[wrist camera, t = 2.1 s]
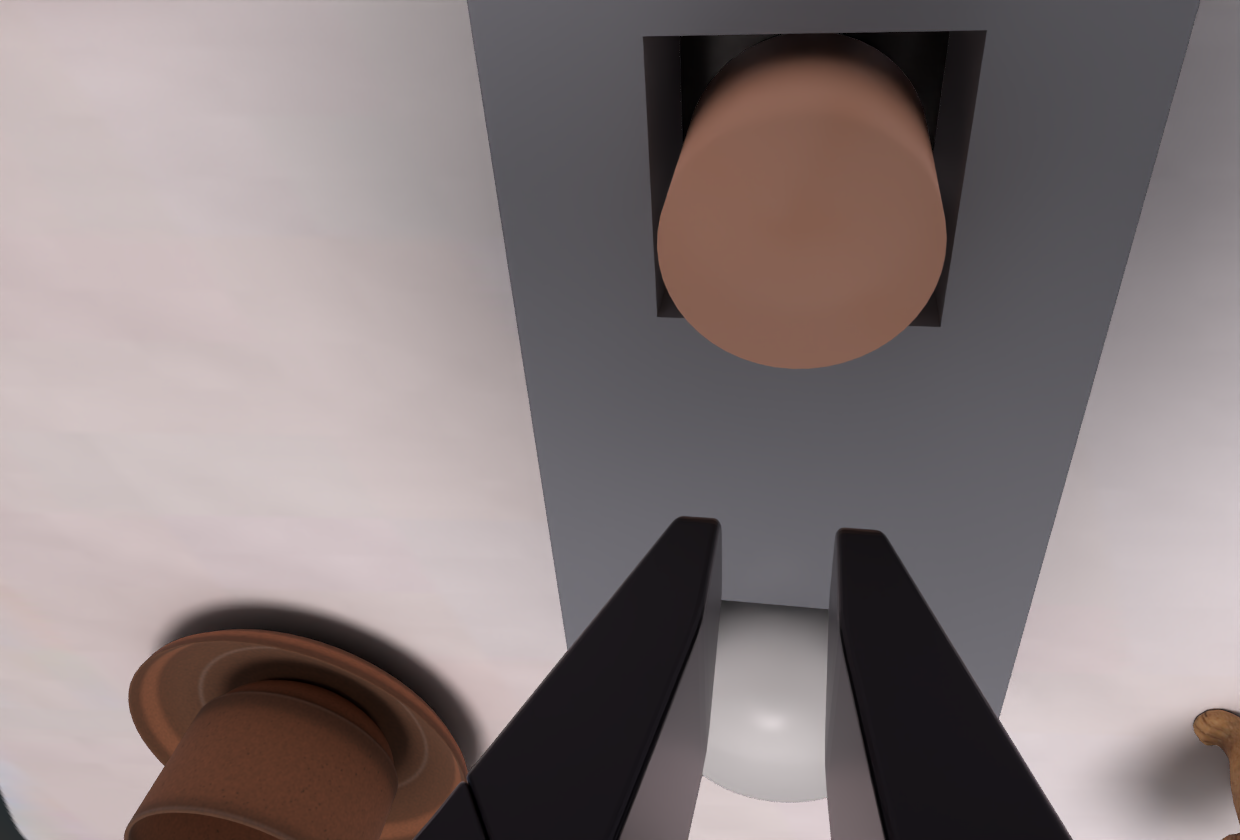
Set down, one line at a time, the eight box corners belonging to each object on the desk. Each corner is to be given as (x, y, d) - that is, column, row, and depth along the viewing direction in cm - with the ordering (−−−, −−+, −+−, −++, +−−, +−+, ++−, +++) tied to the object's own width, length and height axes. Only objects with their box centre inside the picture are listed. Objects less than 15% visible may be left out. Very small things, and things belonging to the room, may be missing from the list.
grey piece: (872, 574, 22) (877, 703, 19) (858, 684, 24) (860, 812, 22) (697, 561, 23) (678, 682, 20) (700, 669, 25) (683, 790, 22)
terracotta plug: (944, 28, 15) (968, 111, 12) (913, 261, 17) (927, 374, 14) (683, 33, 16) (650, 111, 13) (689, 256, 18) (662, 362, 15)
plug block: (1158, -196, 15) (1244, -156, 12) (958, 678, 27) (973, 808, 24) (521, -160, 16) (448, -118, 13) (611, 645, 29) (585, 761, 26)
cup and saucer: (530, 803, 36) (483, 978, 31) (264, 805, 40) (186, 961, 35) (396, 580, 29) (311, 758, 25) (92, 607, 33) (-33, 767, 28)
